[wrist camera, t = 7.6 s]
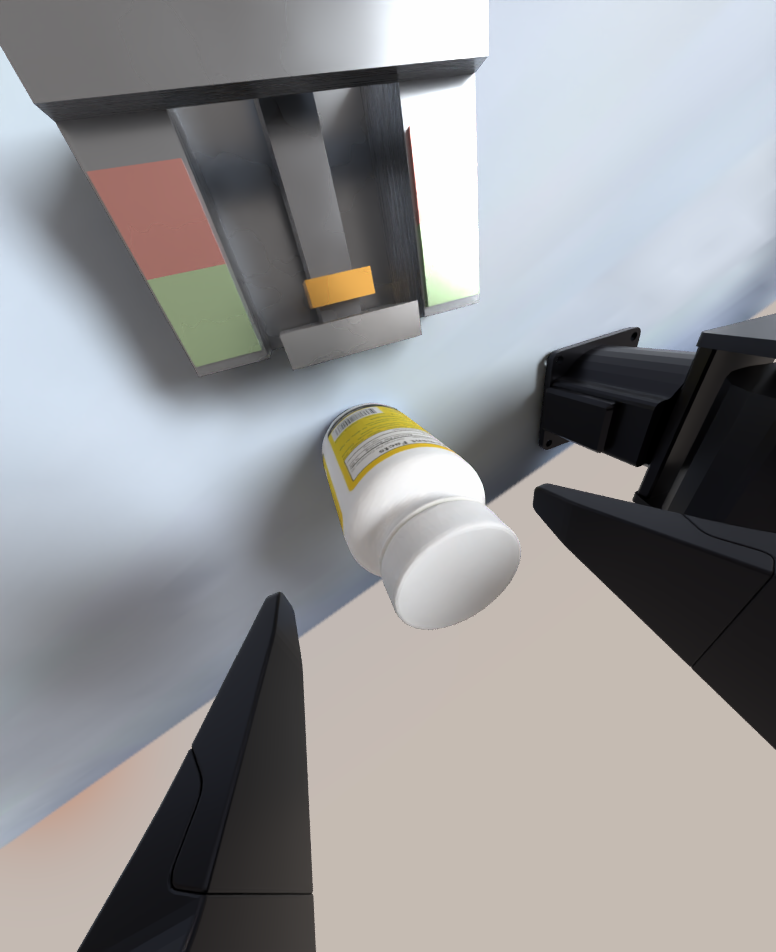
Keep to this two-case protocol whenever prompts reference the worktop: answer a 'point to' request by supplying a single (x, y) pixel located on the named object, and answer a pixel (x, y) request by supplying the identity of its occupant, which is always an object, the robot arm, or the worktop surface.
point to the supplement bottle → (416, 517)
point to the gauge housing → (265, 147)
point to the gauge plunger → (324, 243)
